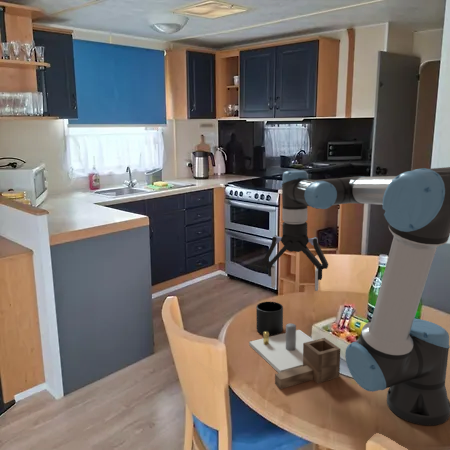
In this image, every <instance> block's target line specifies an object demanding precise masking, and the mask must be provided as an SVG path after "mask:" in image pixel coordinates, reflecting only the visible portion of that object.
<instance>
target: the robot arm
mask: <svg viewBox="0 0 450 450" xmlns="http://www.w3.org/2000/svg"><path fill="white" fill-rule="evenodd" d="M281 181H282V183H281V197H282V198H281V199H282V200H281V201H282V204H281V205H282V219H281V220H282V221H283V222H282V236H277V235H276V234H275V235H273V236H272V239H271V244H270V247H269V248H268V250H267V252H266V255H264V258H263V260H262V262H261V263H262V265H263V266H267V275H268V277H270V278H271V280H270V281H271V285H270V287H271V288H275V286H276V265H274V264H275V263H276V262H277V260H279V258H280V257H282V255H284V253H285V252H287V251H288V252H290V253H291V252H295V253H300V252H302V253H303V254H304V255H305V256H306V257H307V258H308V259H309V261H310V262H311V263H312V264H313V265H314V267H315V271H314V291H315V292H318V290H319V281H322V279H323V270H325V269H328V268H329V263H328V261H327V258H326V256H325V255H324V253H323V250H322V248H321V246H320V244H319V238H318V237H317V236H314V237H312V238H310V237H309V236H308V222H307V221H308V207H309V208H310V207H311V208H314V209H321V210H326V209H330V208H331V207H332V206H336V205H337V206H338V205H344V204H359V205H361V204H366V205H380V206H381V205H382V210H384V213H383V216H384V218H385V220H386V221H387V223H388V229H389V231H390V233H391V234H392V236H393V239H392V242H391V245H390V250H389V253H388V257H387V261H386V264H385V268H384V271H383V275H382V279H381V283H380V286H379V290H378V295H377V298H376V301H375V302H376V303H375V304H374V310H373V313H372V316H371V320H370V321H369V322H367V323H365V324H364V325H363V327H362V329H361V331H360V336H359V340H358V341H353V342H351V343H350V344H348V345H347V346H346V348H345V351H344V352H345V354H344V355H345V363H346V366H347V368H348V370H349V371H348V372H349V373H350V375H351V378H352V379H353V380H354V382H355V383H356V384H357V385H358V386H359V387H360V388H362V389H363V390H364V391H368V392H372V393H373V392H377V391H385V390H386V389H388V388H389V389H388V390H387V394H386V405H387V407H388V408H389V410H390V411H391V412H392V413H393V414H395V415H396V416H397V417H398V418H401V419H402V420H404V421H407V422H409V423H412V424H416V425H420V426H421V425H422V426H438V425H439V426H440V425H442V424H443V423H446V422H447V421H448V420H449V418H450V400H449V398H448V392H447V387H446V377H447V368H448V358H449V351H450V334H449V332H448V331H447V329H446V328H444V327H442V326H440V325H439V324H437V323H435V322H432V321H429V320H424V319H419V318H416V315H417V312H418V308H419V305H420V302H421V299H422V296H423V293H424V290H425V286H426V283H427V280H428V276H429V273H430V271H431V268H432V264H433V260H434V258H435V255H436V251H437V248H438V247H440V246H442V245H445V244H446V243H448V241H449V238H450V166H448V167H434V168H425V167H423V168H417V169H412V170H408V171H404V172H402V173H400V174H398V175H388V176H387V175H386V176H364V175H363V176H361V175H358V176H357V175H356V176H355V175H354V176H351V177H350V176H348V177H340V178H338V177H336V178H327V179H326V178H325V179H309V175H308V171H306V170H303V169H302V170H297V169H296V170H295V169H294V170H287V171H283V173H282V180H281ZM279 242H281V243H282V245H283V246H282V248H281V249H280V250H279V251H278V252H277V254H275V256H274V257H273V258H272V259H271V260H269V259H270V258H271V255H272V253H273V251H274V250H275V247H276V246H277V244H279ZM308 243H310V245H311V246H313V248H314V250H315V253H316V255H317V256H318V259H319V260H320V261H319V260H318V259H317V257H316V256H315V255H314V254H313V253H312V252H311V250H310V248H309V247H308V246H307V245H308Z"/></svg>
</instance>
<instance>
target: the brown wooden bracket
mask: <svg viewBox="0 0 450 450" xmlns="http://www.w3.org/2000/svg"><path fill="white" fill-rule="evenodd" d="M313 340H314V341H310V342H306V343H303V367H299V368H295V369H292V370H288V371H285V372H281V373H278V372H277V373H275V374H274V384H275V385H276V386H277V387H278V389H280V390H283V389H286V388H289V387H292V386H296V385H299V384H302V383H305V382H309V381H312V380H313V381H315V382H316V384H321V383H323V382H328V381H330V380H333V379H338V378H340V374H341V373H340V370H341V348H340V347H339V346H337V345H336V344H334V343H332V342H331V341H330V340H328V339H327V338H326V337H322V338H319V339H313Z"/></svg>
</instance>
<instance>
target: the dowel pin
mask: <svg viewBox="0 0 450 450" xmlns="http://www.w3.org/2000/svg"><path fill="white" fill-rule="evenodd" d="M262 335H263V337H262V339H263V344H265V345H268V344H269V337H270V335H269V332H268V331H264V332H263V334H262Z"/></svg>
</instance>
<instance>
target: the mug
mask: <svg viewBox="0 0 450 450" xmlns="http://www.w3.org/2000/svg"><path fill="white" fill-rule="evenodd" d="M255 309H256V331H257V333H258V334H261V335H263V332H264V331H268V332H269V336H275V335H279V334H282V332H283V329H284V306H283V304H281V303H280V302H278V301H277V302H276V301H262V302H259V303H258V304H257V305H256V307H255Z"/></svg>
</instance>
